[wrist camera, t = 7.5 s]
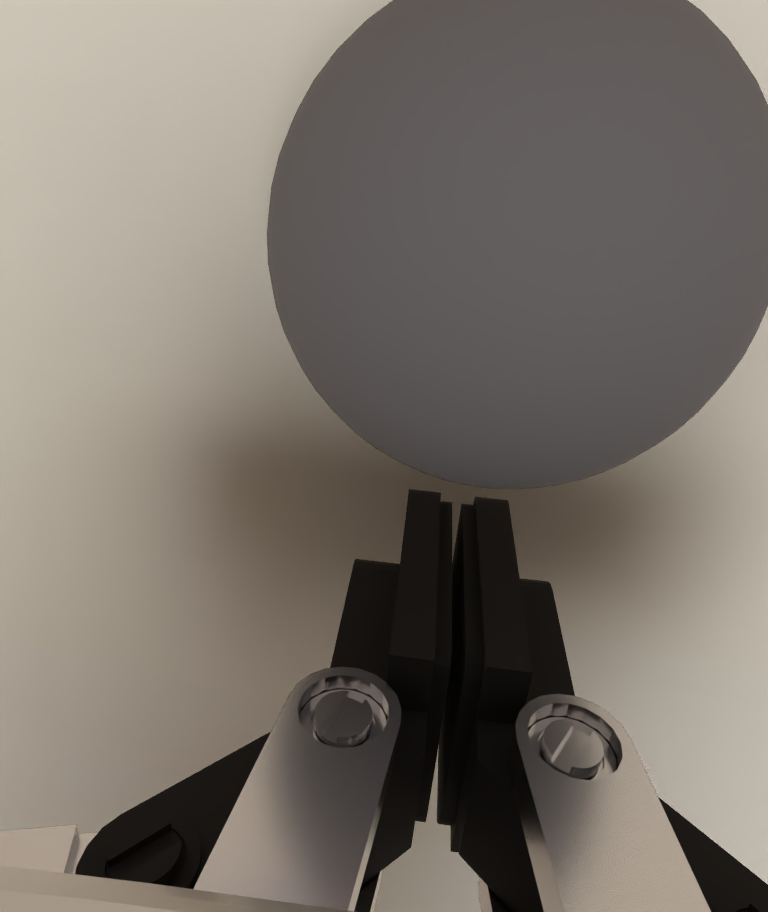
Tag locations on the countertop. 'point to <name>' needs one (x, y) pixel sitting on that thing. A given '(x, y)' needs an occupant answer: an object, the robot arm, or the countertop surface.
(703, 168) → the grey rubber ball
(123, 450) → the countertop surface
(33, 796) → the countertop surface
